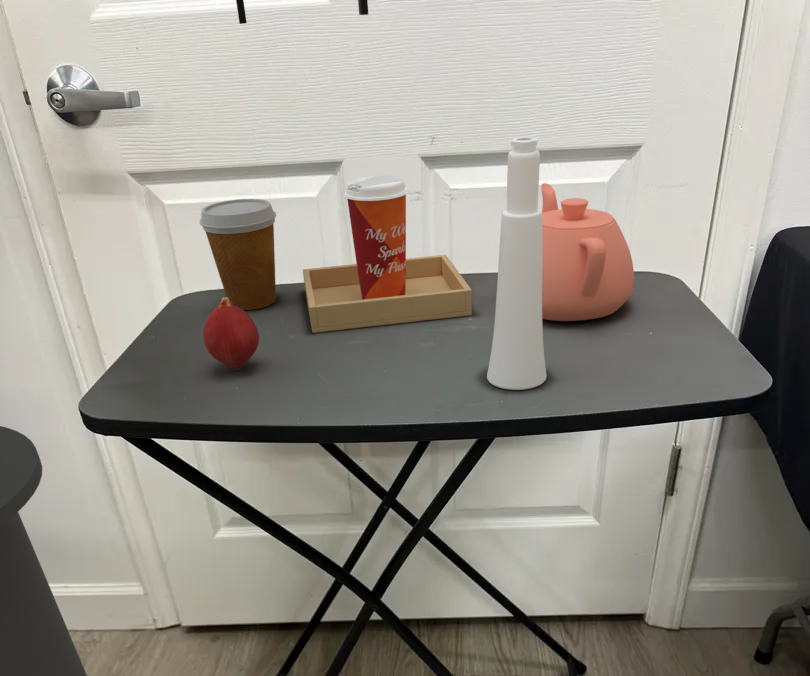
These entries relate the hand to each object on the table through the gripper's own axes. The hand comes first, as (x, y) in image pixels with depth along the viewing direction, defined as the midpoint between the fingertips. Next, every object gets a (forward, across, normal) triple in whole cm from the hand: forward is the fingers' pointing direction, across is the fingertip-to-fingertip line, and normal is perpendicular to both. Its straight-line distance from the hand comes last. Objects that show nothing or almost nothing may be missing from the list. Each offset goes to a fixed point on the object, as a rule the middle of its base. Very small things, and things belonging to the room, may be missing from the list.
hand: (303, 19), depth 87 cm
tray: (+31, -6, +7) cm, 32 cm away
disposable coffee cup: (+31, +11, +1) cm, 33 cm away
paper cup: (+30, -6, +7) cm, 32 cm away
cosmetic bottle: (+31, -16, +34) cm, 49 cm away
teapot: (+31, -28, +15) cm, 44 cm away
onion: (+31, +13, +23) cm, 41 cm away
